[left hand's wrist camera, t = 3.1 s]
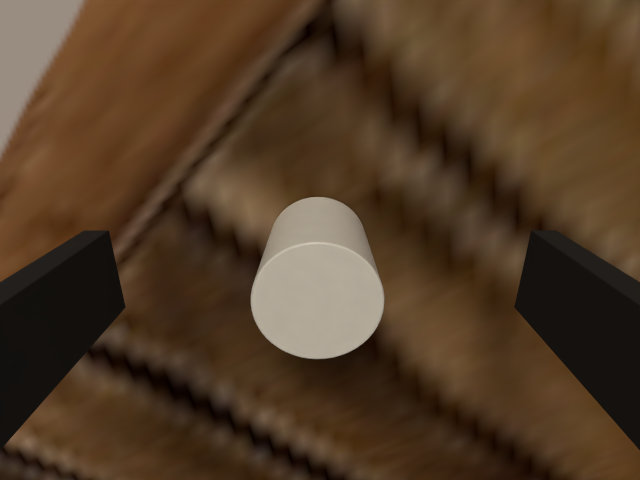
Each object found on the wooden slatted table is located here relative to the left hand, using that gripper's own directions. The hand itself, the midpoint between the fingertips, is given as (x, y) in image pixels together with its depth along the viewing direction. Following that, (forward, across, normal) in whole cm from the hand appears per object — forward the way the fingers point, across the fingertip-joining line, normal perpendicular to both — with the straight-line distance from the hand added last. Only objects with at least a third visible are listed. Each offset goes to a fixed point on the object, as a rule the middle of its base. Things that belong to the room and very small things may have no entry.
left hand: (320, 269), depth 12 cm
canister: (+3, 0, 0) cm, 3 cm away
